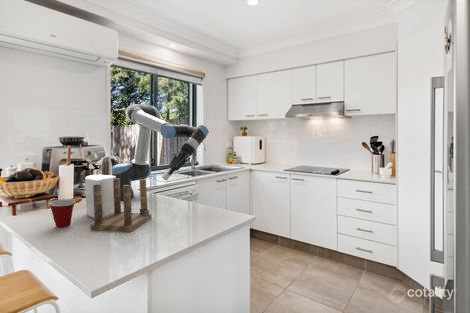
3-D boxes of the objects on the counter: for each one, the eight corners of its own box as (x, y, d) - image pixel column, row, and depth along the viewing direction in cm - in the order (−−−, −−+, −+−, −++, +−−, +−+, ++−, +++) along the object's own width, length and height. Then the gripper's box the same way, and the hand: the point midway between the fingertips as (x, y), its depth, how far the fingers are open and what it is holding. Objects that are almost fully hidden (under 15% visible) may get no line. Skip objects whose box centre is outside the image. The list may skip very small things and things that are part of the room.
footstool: (151, 218, 139) (150, 179, 137) (130, 232, 120) (128, 186, 118) (116, 216, 143) (114, 177, 141) (90, 229, 123) (88, 185, 121)
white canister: (100, 220, 137) (98, 177, 135) (76, 218, 139) (74, 176, 137) (118, 211, 151) (117, 173, 149) (96, 210, 154) (94, 172, 152)
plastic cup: (67, 230, 122) (66, 204, 121) (44, 229, 123) (42, 204, 122) (81, 222, 133) (80, 198, 132) (60, 222, 133) (59, 198, 132)
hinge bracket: (144, 213, 140) (144, 207, 139) (149, 215, 136) (148, 209, 136) (139, 214, 138) (139, 208, 138) (144, 216, 134) (144, 210, 134)
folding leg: (145, 209, 139) (144, 179, 137) (148, 210, 137) (147, 179, 135) (139, 210, 137) (138, 179, 135) (142, 211, 135) (141, 180, 133)
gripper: (200, 152, 151) (175, 184, 141) (187, 150, 161) (162, 181, 150) (192, 143, 147) (166, 176, 137) (179, 142, 156) (153, 173, 146)
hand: (164, 178), depth 144 cm, fingers closed
